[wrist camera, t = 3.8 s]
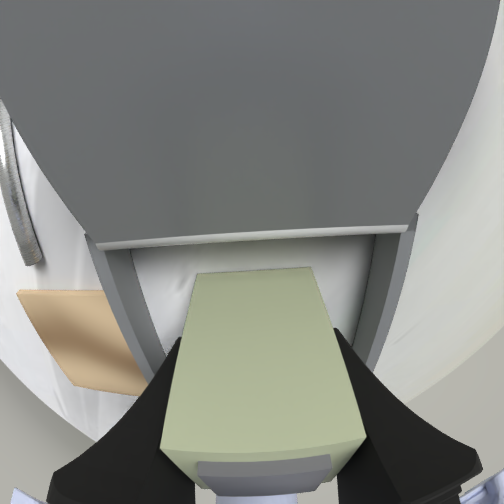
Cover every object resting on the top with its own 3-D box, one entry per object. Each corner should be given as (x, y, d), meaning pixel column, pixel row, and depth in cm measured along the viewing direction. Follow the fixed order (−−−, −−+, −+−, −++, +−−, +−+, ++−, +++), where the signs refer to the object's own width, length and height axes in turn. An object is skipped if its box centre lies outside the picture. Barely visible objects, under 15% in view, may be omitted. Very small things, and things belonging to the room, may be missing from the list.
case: (354, 372, 14) (362, 396, 13) (167, 383, 14) (162, 408, 13) (394, 196, 9) (418, 214, 8) (106, 213, 9) (84, 234, 8)
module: (304, 344, 13) (332, 490, 6) (213, 349, 13) (200, 497, 6) (310, 267, 11) (370, 451, 4) (197, 273, 11) (157, 463, 4)
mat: (179, 394, 15) (178, 399, 15) (75, 381, 15) (73, 385, 15) (137, 289, 11) (134, 295, 11) (19, 289, 11) (16, 293, 11)
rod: (45, 254, 10) (34, 266, 9) (32, 255, 10) (21, 266, 9) (12, 85, 6) (-3, 87, 5) (-1, 94, 6) (-15, 96, 5)
